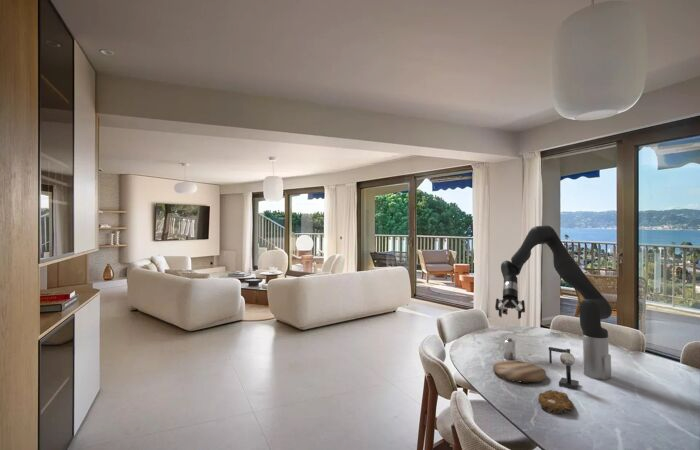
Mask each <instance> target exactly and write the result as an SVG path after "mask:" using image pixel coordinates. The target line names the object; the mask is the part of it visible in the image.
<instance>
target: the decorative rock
mask: <svg viewBox="0 0 700 450" xmlns="http://www.w3.org/2000/svg"><path fill="white" fill-rule="evenodd" d="M538 404H540V407H541V409H542V408H543V409H542V410H545V411H547V412H548V411H550V412H549V414H550V413H552V414H551V415H555V414H556V415H558V414H559V415H560V413H561V412H562V413H561V414H562V415H563V414H566V413H568V412H572V413H574V411H575V405H574V403H573V402H572V400H571V399H570V398H569V396H568V394H567V393H566V392H562V391H557V390H546V391H544V392H540V393H539V394H538Z"/></svg>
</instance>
